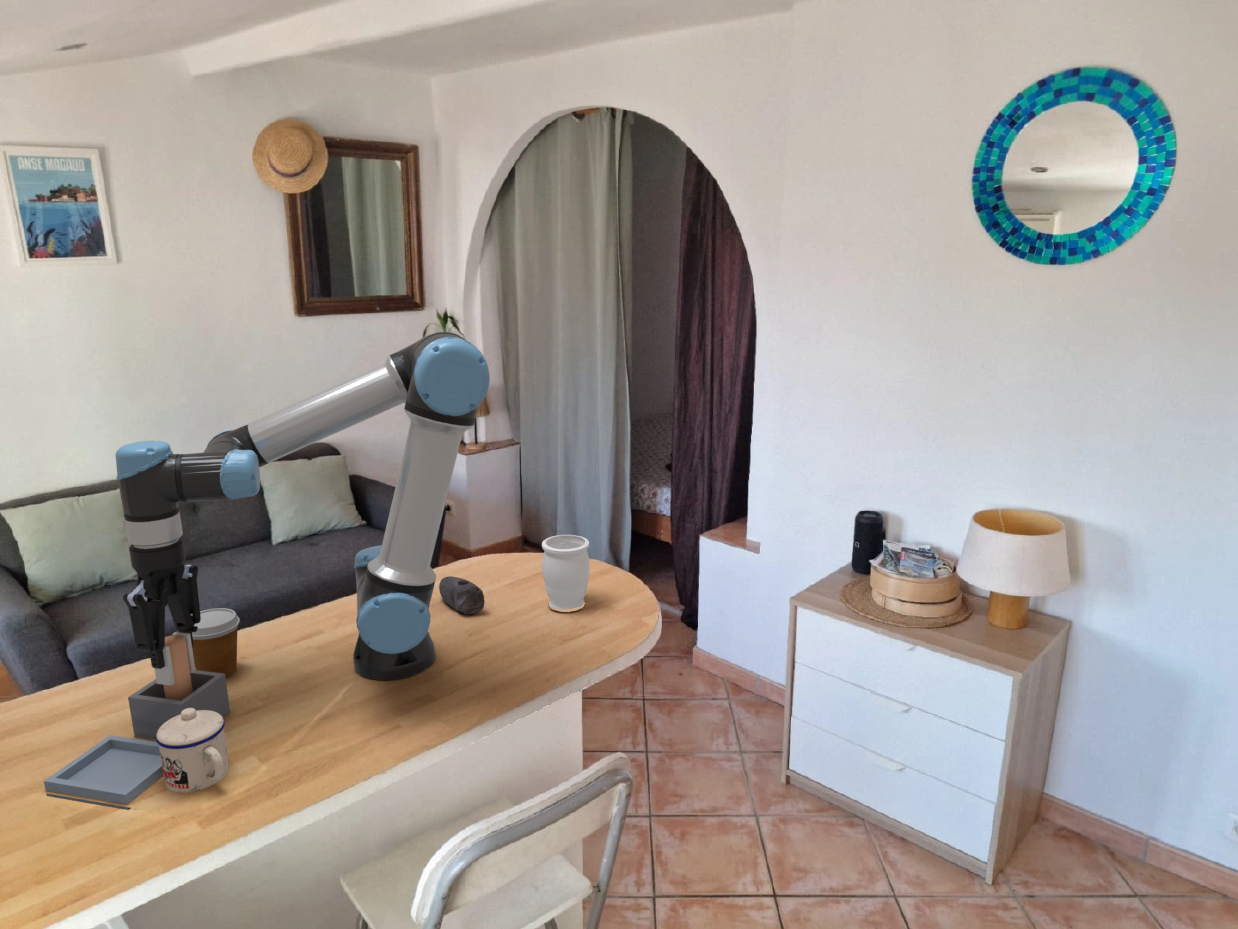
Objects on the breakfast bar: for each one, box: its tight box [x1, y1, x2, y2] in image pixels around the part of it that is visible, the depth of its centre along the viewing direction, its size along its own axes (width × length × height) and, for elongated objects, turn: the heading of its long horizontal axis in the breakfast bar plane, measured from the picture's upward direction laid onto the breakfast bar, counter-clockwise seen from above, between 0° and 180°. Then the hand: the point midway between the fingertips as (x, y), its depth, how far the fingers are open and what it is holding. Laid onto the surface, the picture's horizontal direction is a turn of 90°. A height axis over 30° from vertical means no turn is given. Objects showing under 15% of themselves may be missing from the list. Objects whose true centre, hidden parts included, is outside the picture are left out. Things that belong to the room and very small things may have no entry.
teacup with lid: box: [155, 708, 230, 793], centre depth 122 cm, size 12×9×12 cm
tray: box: [43, 734, 164, 811], centre depth 125 cm, size 14×12×2 cm
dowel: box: [163, 634, 193, 701], centre depth 136 cm, size 4×4×15 cm
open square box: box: [127, 669, 231, 741], centre depth 137 cm, size 10×10×8 cm
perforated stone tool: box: [438, 575, 485, 615], centre depth 183 cm, size 15×5×7 cm, turn 41°
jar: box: [541, 534, 590, 610], centre depth 183 cm, size 11×10×15 cm
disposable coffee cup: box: [191, 607, 241, 679], centre depth 153 cm, size 10×10×12 cm
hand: (176, 676), depth 135 cm, fingers closed on dowel, 4 cm apart
